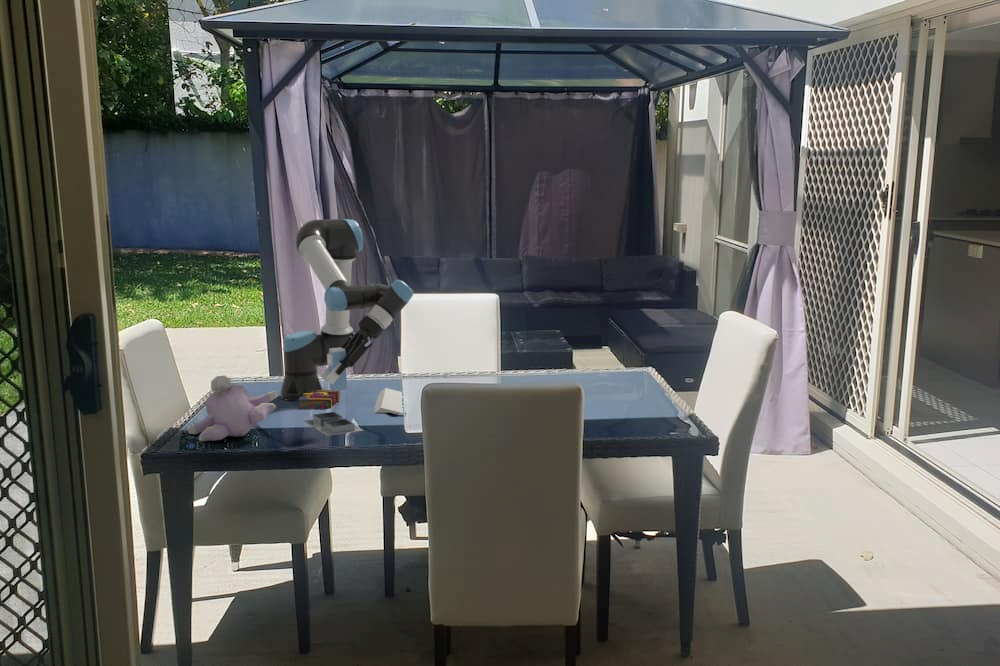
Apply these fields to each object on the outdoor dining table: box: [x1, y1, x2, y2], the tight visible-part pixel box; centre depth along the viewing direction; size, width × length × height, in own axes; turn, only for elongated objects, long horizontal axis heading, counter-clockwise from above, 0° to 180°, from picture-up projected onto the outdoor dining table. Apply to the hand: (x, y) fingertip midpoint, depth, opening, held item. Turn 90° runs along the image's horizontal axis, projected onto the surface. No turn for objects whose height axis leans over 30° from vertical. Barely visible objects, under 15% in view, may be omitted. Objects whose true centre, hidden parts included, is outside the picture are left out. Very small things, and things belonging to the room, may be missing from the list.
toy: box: [186, 375, 278, 442], centre depth 271 cm, size 29×17×30 cm
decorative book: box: [297, 389, 341, 410], centre depth 303 cm, size 11×16×5 cm
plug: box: [327, 347, 348, 391], centre depth 267 cm, size 4×5×13 cm
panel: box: [304, 411, 364, 437], centre depth 275 cm, size 20×12×3 cm, turn 32°
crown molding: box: [373, 387, 403, 415], centre depth 305 cm, size 29×12×4 cm, turn 5°
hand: (326, 380), depth 266 cm, fingers closed on plug, 4 cm apart
